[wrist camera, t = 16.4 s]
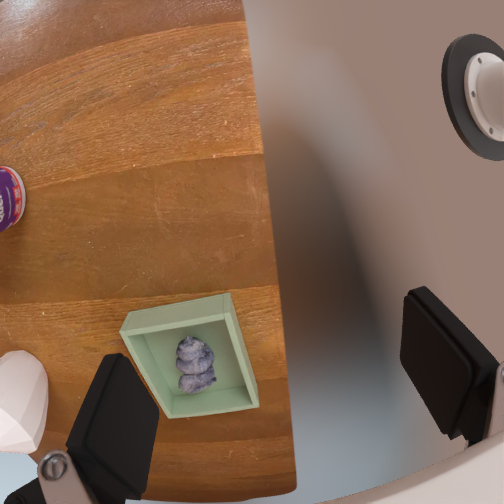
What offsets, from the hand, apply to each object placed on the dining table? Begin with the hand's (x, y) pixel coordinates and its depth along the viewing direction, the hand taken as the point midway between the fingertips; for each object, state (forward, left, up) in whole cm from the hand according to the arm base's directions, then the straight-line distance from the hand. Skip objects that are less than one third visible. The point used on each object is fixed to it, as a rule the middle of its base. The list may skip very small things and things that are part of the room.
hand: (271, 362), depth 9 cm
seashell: (+11, +19, -25) cm, 33 cm away
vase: (+43, +19, -26) cm, 53 cm away
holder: (+11, +19, -26) cm, 34 cm away
